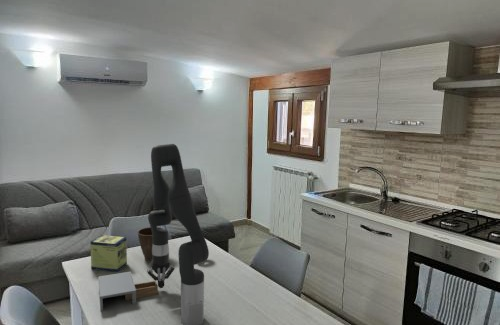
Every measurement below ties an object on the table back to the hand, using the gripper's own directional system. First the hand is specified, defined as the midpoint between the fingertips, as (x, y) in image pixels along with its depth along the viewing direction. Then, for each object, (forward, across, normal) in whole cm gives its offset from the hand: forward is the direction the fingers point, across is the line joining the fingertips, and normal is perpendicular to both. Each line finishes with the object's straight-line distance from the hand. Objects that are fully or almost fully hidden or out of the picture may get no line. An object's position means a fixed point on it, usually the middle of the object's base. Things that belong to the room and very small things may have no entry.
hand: (161, 287), depth 165 cm
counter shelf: (+2, -19, +3) cm, 20 cm away
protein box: (+2, -21, +38) cm, 43 cm away
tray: (+2, -9, 0) cm, 9 cm away
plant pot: (+2, +2, +42) cm, 42 cm away
